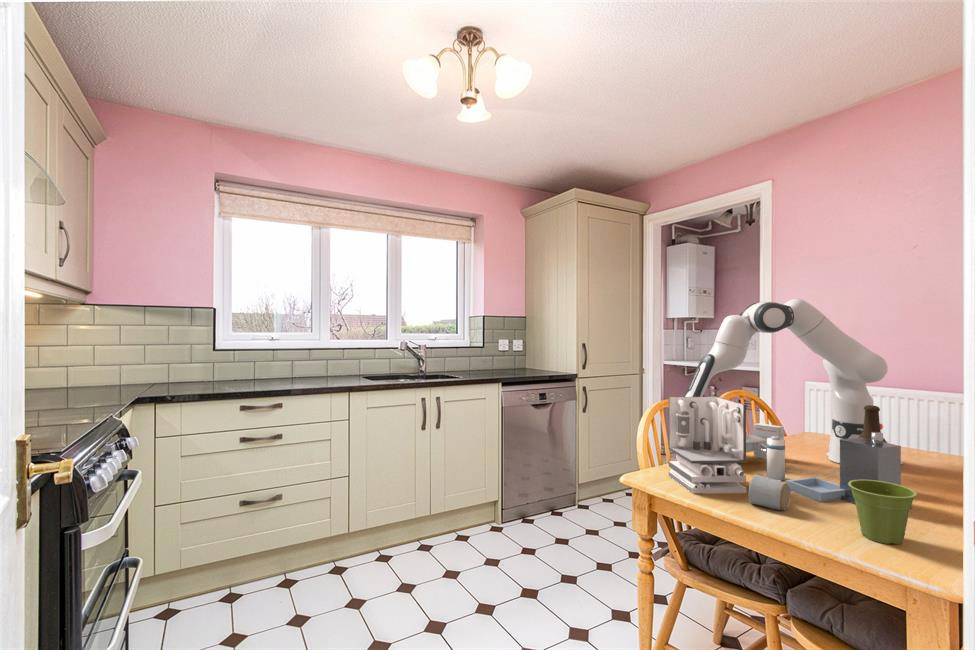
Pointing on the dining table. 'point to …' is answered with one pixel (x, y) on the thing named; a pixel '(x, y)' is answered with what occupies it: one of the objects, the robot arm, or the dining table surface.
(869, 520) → the plant pot
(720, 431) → the pipe room model
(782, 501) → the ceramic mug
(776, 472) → the cylinder
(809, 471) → the dining table surface
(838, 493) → the tray
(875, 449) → the block
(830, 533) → the dining table surface
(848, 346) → the robot arm
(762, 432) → the ink box
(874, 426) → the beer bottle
